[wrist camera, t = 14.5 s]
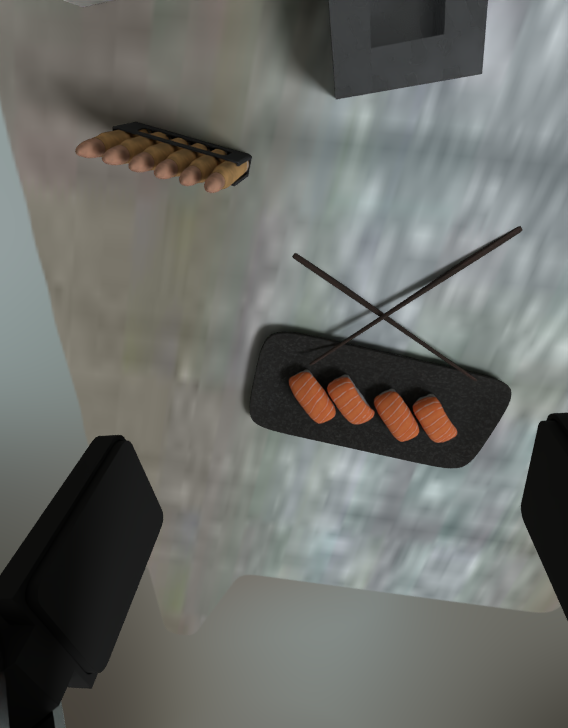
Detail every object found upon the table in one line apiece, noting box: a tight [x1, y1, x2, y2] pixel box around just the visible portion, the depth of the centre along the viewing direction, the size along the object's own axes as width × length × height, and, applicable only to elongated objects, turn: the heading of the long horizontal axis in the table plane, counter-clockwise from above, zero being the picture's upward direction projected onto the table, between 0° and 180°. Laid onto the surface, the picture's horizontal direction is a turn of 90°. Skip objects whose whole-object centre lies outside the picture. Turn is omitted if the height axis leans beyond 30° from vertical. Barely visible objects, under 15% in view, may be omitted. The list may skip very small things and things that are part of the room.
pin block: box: [328, 0, 488, 99], centre depth 29 cm, size 10×10×5 cm
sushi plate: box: [250, 226, 522, 468], centre depth 46 cm, size 29×30×4 cm
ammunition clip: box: [75, 122, 252, 193], centre depth 33 cm, size 11×2×12 cm, turn 76°
